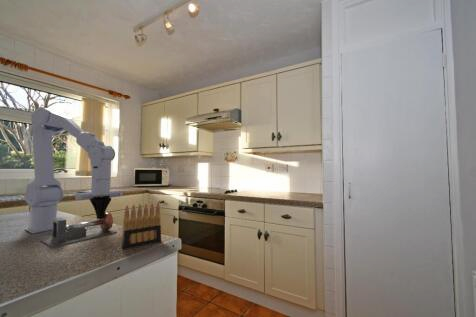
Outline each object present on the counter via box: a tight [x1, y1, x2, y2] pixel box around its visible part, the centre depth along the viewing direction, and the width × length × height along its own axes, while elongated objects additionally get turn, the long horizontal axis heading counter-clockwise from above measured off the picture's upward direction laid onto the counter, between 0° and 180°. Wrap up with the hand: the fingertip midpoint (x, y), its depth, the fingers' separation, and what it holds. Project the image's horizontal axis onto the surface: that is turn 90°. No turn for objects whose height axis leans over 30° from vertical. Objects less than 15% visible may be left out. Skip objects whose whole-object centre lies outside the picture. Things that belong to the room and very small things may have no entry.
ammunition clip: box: [121, 202, 162, 250], centre depth 66 cm, size 11×2×12 cm, turn 129°
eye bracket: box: [40, 217, 118, 249], centre depth 73 cm, size 10×18×7 cm, turn 145°
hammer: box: [66, 212, 114, 231], centre depth 75 cm, size 6×14×6 cm, turn 145°
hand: (100, 218), depth 78 cm, fingers closed
